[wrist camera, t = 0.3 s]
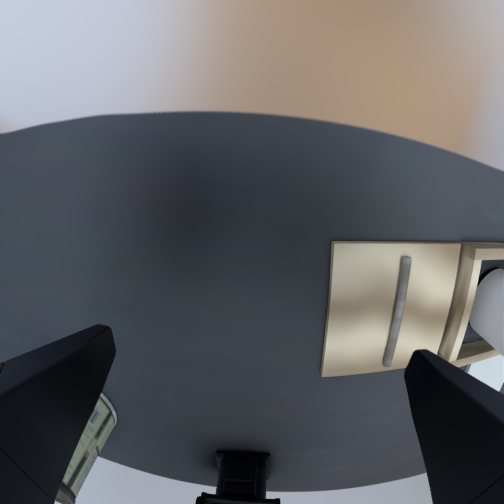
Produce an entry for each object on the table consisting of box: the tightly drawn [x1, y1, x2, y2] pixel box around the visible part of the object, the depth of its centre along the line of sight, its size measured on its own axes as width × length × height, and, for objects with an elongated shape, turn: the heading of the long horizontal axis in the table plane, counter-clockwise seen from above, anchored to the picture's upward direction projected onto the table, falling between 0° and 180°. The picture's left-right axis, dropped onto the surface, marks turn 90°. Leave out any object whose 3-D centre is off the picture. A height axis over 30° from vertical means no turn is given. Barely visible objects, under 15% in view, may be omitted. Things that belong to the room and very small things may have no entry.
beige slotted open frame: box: [320, 241, 504, 377], centre depth 20 cm, size 12×24×2 cm, turn 91°
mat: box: [465, 354, 504, 391], centre depth 24 cm, size 10×10×1 cm
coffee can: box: [55, 393, 117, 504], centre depth 20 cm, size 10×10×14 cm
